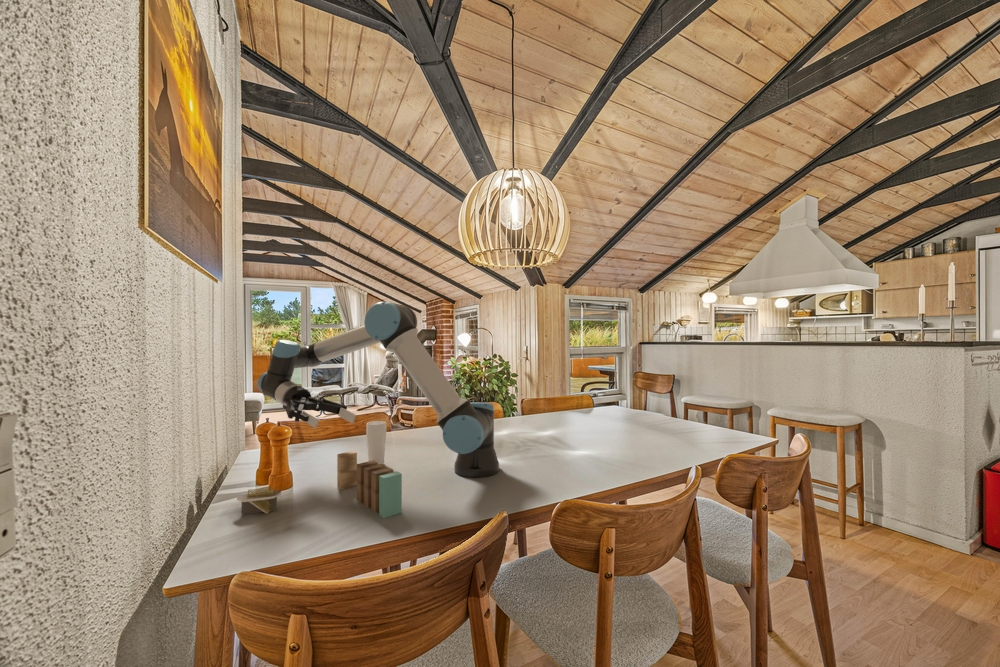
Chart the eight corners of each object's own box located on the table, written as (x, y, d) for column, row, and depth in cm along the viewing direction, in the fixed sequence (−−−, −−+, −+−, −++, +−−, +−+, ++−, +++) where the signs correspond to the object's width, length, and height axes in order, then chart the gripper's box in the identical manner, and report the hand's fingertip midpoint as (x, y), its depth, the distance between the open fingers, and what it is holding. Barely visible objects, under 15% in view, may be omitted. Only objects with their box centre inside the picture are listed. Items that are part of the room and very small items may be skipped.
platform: (294, 519, 101) (294, 493, 101) (209, 531, 95) (209, 503, 95) (300, 501, 113) (300, 477, 113) (224, 510, 107) (224, 485, 107)
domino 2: (373, 495, 116) (373, 460, 116) (377, 497, 114) (377, 462, 114) (356, 500, 112) (356, 464, 112) (360, 502, 111) (360, 466, 111)
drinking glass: (370, 469, 139) (370, 425, 139) (363, 464, 144) (363, 422, 144) (389, 465, 143) (389, 422, 143) (381, 460, 148) (381, 419, 148)
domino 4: (388, 504, 109) (388, 467, 110) (393, 507, 108) (393, 469, 108) (371, 510, 106) (371, 471, 106) (375, 512, 104) (375, 473, 104)
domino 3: (380, 499, 113) (381, 463, 113) (385, 502, 111) (385, 465, 111) (363, 505, 109) (363, 467, 109) (367, 507, 107) (367, 469, 108)
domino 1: (353, 483, 125) (353, 450, 126) (356, 485, 124) (356, 452, 124) (337, 487, 122) (337, 454, 122) (340, 489, 120) (340, 455, 120)
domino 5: (396, 509, 106) (396, 471, 106) (401, 512, 105) (401, 473, 105) (379, 515, 103) (379, 475, 103) (383, 518, 101) (383, 478, 101)
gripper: (323, 405, 142) (364, 428, 132) (252, 410, 120) (295, 438, 110) (328, 385, 142) (370, 406, 132) (258, 386, 120) (302, 412, 110)
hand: (336, 421), depth 121 cm, fingers open, 13 cm apart
